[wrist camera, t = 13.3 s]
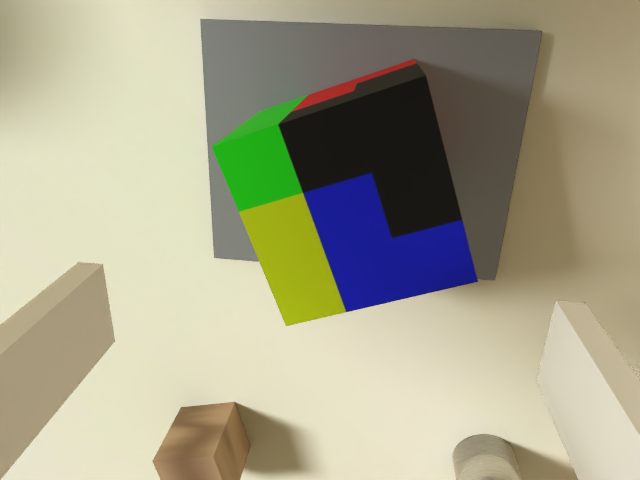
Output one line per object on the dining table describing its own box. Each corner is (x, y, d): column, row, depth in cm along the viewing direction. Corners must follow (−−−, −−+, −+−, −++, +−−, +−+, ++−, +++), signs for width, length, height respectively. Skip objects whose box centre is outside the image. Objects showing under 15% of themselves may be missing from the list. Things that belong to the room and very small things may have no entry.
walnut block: (198, 450, 46) (173, 508, 41) (181, 406, 44) (152, 461, 39) (250, 446, 45) (231, 504, 40) (234, 401, 43) (213, 456, 38)
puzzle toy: (452, 210, 34) (477, 281, 25) (311, 248, 36) (286, 326, 27) (413, 58, 30) (425, 75, 21) (260, 111, 33) (211, 146, 23)
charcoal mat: (217, 253, 38) (214, 257, 37) (204, 19, 32) (200, 19, 31) (492, 275, 36) (494, 280, 35) (538, 30, 30) (542, 31, 29)
